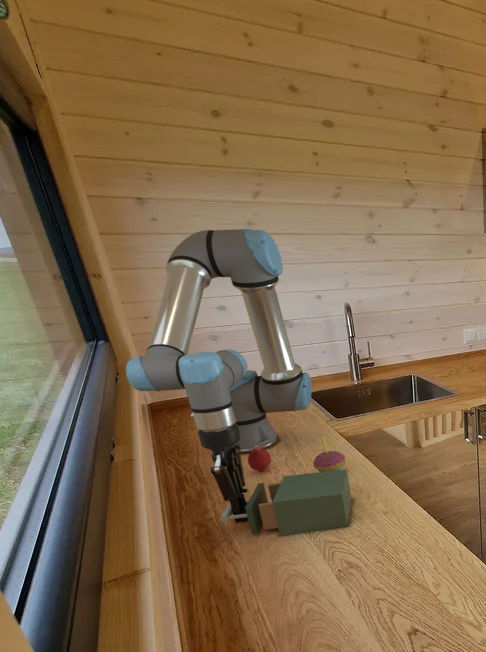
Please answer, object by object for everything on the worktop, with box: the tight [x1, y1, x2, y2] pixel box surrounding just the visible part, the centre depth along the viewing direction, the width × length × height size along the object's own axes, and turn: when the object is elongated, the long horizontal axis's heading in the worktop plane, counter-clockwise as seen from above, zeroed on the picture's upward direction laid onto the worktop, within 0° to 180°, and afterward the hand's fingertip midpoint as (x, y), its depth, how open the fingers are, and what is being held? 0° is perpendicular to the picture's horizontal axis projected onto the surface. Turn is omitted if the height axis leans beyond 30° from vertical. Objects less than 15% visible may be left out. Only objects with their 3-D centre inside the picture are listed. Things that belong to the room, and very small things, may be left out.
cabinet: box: [271, 469, 353, 536], centre depth 115 cm, size 15×13×9 cm
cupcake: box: [313, 435, 347, 472], centre depth 133 cm, size 9×8×12 cm
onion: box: [247, 445, 272, 473], centre depth 138 cm, size 6×6×8 cm
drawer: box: [220, 482, 281, 535], centre depth 113 cm, size 20×11×7 cm, turn 103°
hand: (243, 520), depth 113 cm, fingers closed
